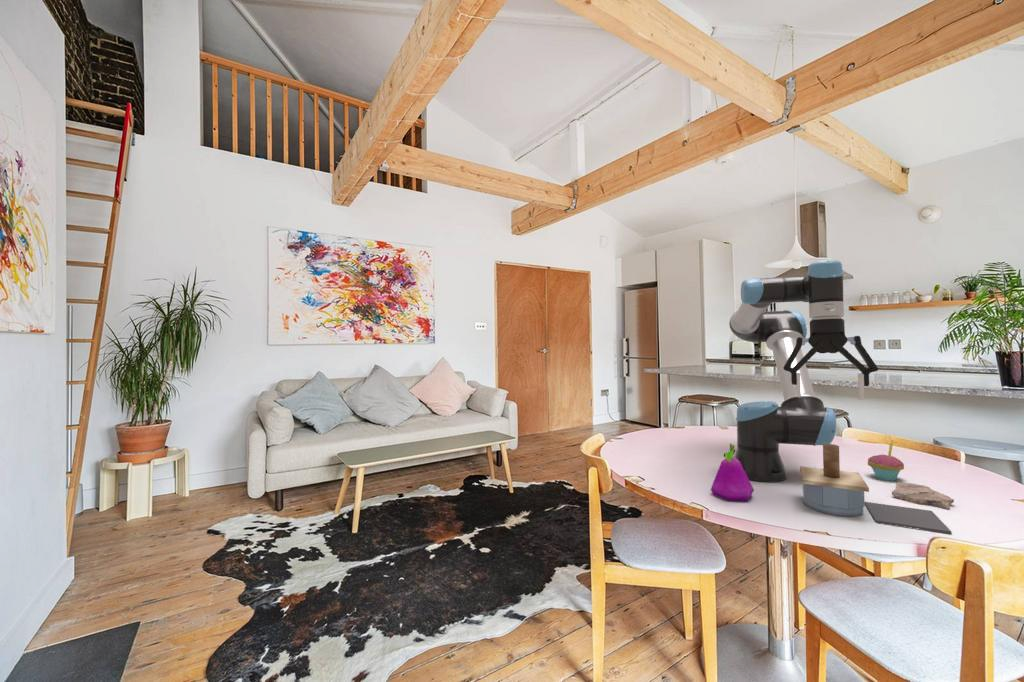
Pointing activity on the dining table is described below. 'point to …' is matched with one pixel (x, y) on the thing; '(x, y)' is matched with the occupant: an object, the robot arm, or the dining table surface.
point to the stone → (921, 495)
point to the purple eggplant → (732, 479)
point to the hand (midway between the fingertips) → (829, 397)
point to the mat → (906, 517)
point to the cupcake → (886, 465)
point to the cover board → (833, 482)
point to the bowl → (834, 500)
